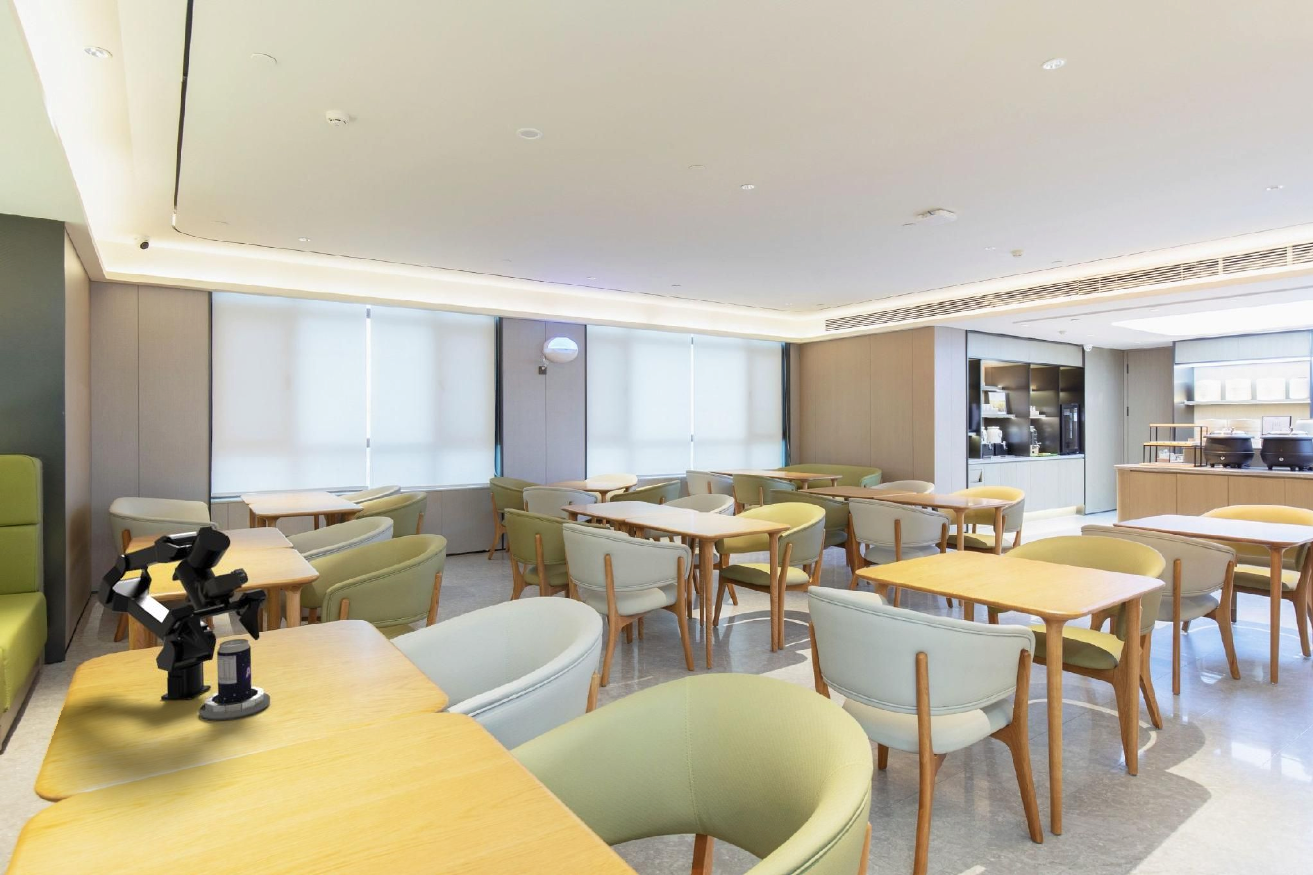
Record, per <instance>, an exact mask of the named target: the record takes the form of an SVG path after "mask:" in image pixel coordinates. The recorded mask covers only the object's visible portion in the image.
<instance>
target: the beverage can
mask: <svg viewBox="0 0 1313 875" xmlns="http://www.w3.org/2000/svg"><path fill="white" fill-rule="evenodd" d="M251 650H252V647H251V645H250V643H249V640H248V639H246V638H236V639H230V640H226V641H222V642H220V643H219V647H218V649H217V651H216V658H217V663H216V664H217V692H218V702H219V703H220V704H229V703H235V702H241V701H244V700H247V699H250V698H251V697H252V687H253V686H252V653H251V652H252V651H251Z"/></svg>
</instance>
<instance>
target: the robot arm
mask: <svg viewBox="0 0 1313 875" xmlns="http://www.w3.org/2000/svg"><path fill="white" fill-rule="evenodd" d="M230 546H231V539H230V537H229V536H228V535H226V534H225V533H224V532H223V531H219V530H217V529H213V527H212V525H207V526H201V527H200V528H199V530H198V532H197V531H194V530H193V531H185V532H178V533H171V534H165V535H163V534H162V536H160V537H158V538H157V539H155V540H154V542H153V545H149V546H147V547H143V548H141V549H137V550H134V551H131V552H125V553H122V554H120V555H118V556H117V558H116V560H115V564H114V566H113V567H111V569H110V570H108V572H106V574H104V576H103V577H102V578H101V582H100V585H99V588H98V591H97V599H98V602H99V604H100V605H102V607H104V609H106V610H109V611H111V612H113V613H123V614H128V615H130V616H131V617H133V619H135V620H136V621H137V622H138V623H140V624H141V625H142V626H144V627H145V628H146V629H147V630H148V631H150V632H151V633H152V634H153V635H155V636H156V637H158V638H159V639H160V640H161V641H162V642H163V645H162V646H163V647H162V649H161V650H160V651H159V653H158V655H157V656H156V658H155V661H156V666H157V669H159V670H161V671H166V672H167V677H166V682H167V683H166V690H167V693H164V694H163V695H161V696H160V699H161V700H192V699H194V698H196V697H198V696H199V695H201V694H203V693H204V692H206V691H208V690H210V689H211V688H212V686H211V685H208V684H207V685H205V683H204V682H205V681H204V662H207V661H213V658H214V654H215V648H216V644H217V637H216V634H215V633H214V632H213V631H212V629H211V628H210V627H209V624H208V623H205V622H203V621H202V620H203V619H207V618H212V617H215V616H220V615H224V614H227V613H228V614H230V613H233V612H235V614H236V616H238V617H239V619H238V621H239V623H240V624H241V626H243V628H244V629H245V630H246V631H247V633H248V634H249V635H250V636H251V637H252V639H253V640H255V641H258V640H259V639H260V637H261V636H260V628H259V627H260V626H259V611H260V610H261V608H262V607H263V606H264V604H265V603H266V601H267V600H268V598H269V596H268V594H267V593H266V591H265V590H264V589H262V588H257V589H251V590H247V591H244V592H242V594H241V596H240V597H239V599H238V600H233V601H230V599H233V597H234V596H235V591H236V590H238V589H242V587H243V585H245V584H246V583H248V582H249V578H248V577H249V576H248V574H247V572H246V571H245V568H243V567H241V568H237V569H234V570H232V571H230V572H229V573H225V574H219V575H216V574H215V572H214V570H212V569H214V568H216V567H217V566H218V565H219V563H220V562H221V560H222V558H223V557H224V556H225V554H226V552H227V551H228V549H229V547H230ZM176 562H179V563H178V564H177V566H176V567H174V572H173V574H172V578H171V580H172V582H176V581H179V582H180V583H181V585H182V588H183V589H184V590H185V593H186V594H187V595H186V596H185V598H184V600H185V601H186V603H191V604H184V605H179V606H176V607H171V608H169V609H168V608H166V607H165V606H164V605H162V604H161V603H160V602H158V601H157V600H156V599H154V598H153V597H151V595H149V593H150V588H151V584H152V582H153V578H152V577H151V575H150V573H149V571H148V569H149V567H151V566H154V565H157V564H158V565H159V564H171V563H176ZM139 570H141V573H140V575H139V576H134V577H128V578H124V577H125V576H126V574H127V573H129V572H133V571H139ZM123 578H124V579H123Z"/></svg>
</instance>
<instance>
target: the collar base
mask: <svg viewBox="0 0 1313 875" xmlns="http://www.w3.org/2000/svg"><path fill="white" fill-rule="evenodd" d="M251 687H252V697H251V698H250V699H247V700H244V701H241V702H235V703H229V704H220V703H219V702H218V691H217V692H215V693H213V694H211V695H209V696H207V698H206V699H205V703H204V704H202V705H201V706H200V707H199V710H198V711H199V718H200V719H201V720H204V721H209V722H226V721H234V720H239V719H243V718H247V717H251V716H252V715H255V714H258V713H260V712H262V711H264V710H266V709H267V708H268V707H269V706H270V704H271V696H270V695H269V694H267V693H265V689H264V688H262V687H258V686H251Z"/></svg>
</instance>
